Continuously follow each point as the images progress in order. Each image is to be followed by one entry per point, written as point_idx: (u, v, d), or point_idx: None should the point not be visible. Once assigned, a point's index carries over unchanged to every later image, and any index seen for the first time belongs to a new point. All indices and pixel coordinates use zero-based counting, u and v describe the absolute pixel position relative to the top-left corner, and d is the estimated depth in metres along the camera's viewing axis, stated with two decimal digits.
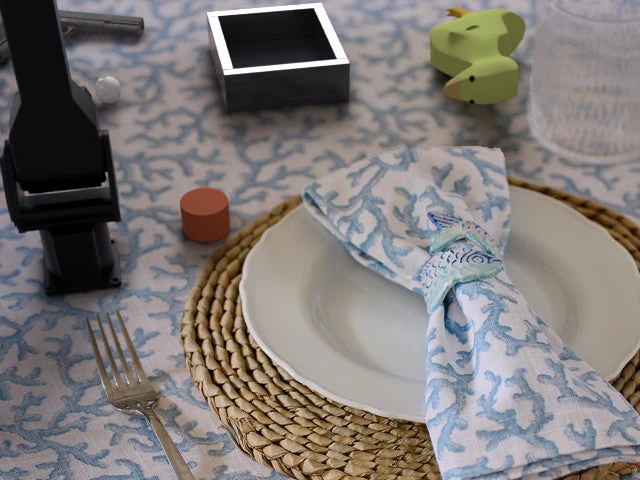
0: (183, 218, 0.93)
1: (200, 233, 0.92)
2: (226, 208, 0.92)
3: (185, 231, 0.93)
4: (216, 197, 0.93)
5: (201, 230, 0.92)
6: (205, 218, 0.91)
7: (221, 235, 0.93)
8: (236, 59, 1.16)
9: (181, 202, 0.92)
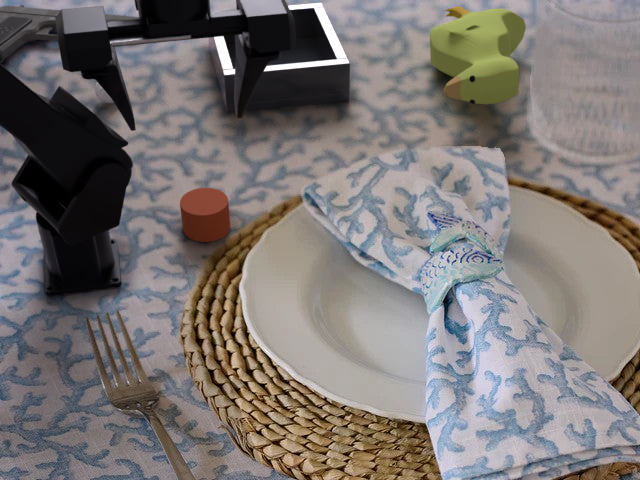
0: (183, 218, 0.93)
1: (200, 233, 0.92)
2: (226, 208, 0.92)
3: (185, 231, 0.93)
4: (216, 197, 0.93)
5: (201, 230, 0.92)
6: (205, 218, 0.91)
7: (221, 235, 0.93)
8: None
9: (181, 202, 0.92)
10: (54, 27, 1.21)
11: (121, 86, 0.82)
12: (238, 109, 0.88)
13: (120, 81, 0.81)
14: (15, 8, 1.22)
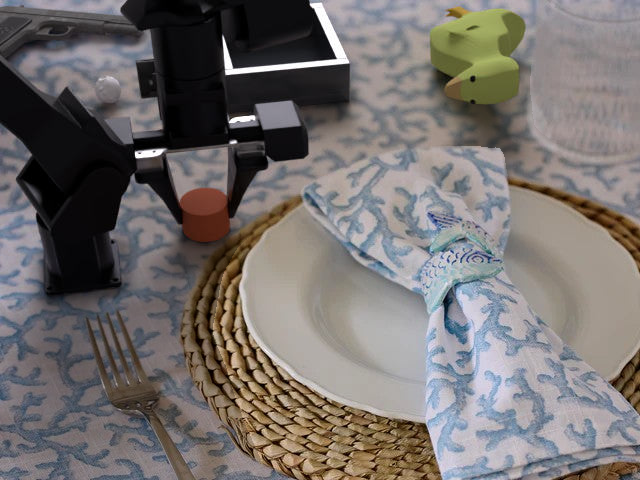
0: (183, 218, 0.93)
1: (200, 233, 0.92)
2: (226, 208, 0.92)
3: (185, 231, 0.93)
4: (215, 197, 0.93)
5: (201, 230, 0.92)
6: (205, 218, 0.91)
7: (221, 235, 0.93)
8: (236, 59, 1.16)
9: (181, 202, 0.92)
10: (54, 27, 1.21)
11: (171, 189, 0.88)
12: (230, 211, 0.93)
13: (170, 185, 0.88)
14: (15, 8, 1.22)
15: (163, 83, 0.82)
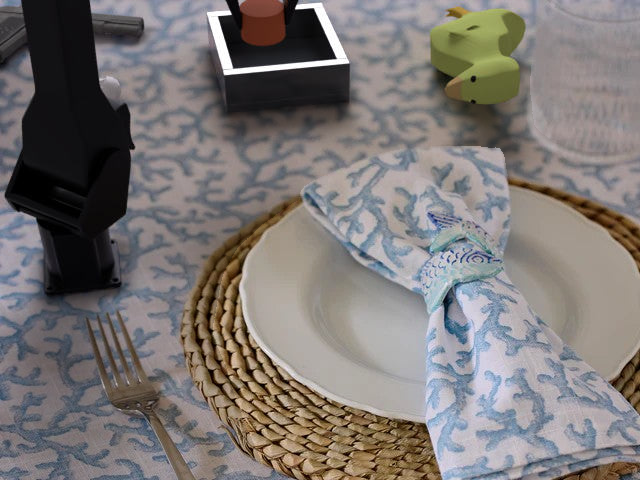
0: (242, 23, 0.99)
1: (258, 36, 0.99)
2: (282, 13, 0.99)
3: (244, 36, 1.00)
4: (272, 4, 1.00)
5: (259, 33, 0.99)
6: (263, 20, 0.98)
7: (277, 40, 1.00)
8: (236, 59, 1.16)
9: (240, 7, 0.99)
10: None
11: None
12: (286, 16, 1.00)
13: None
14: (15, 8, 1.22)
15: None
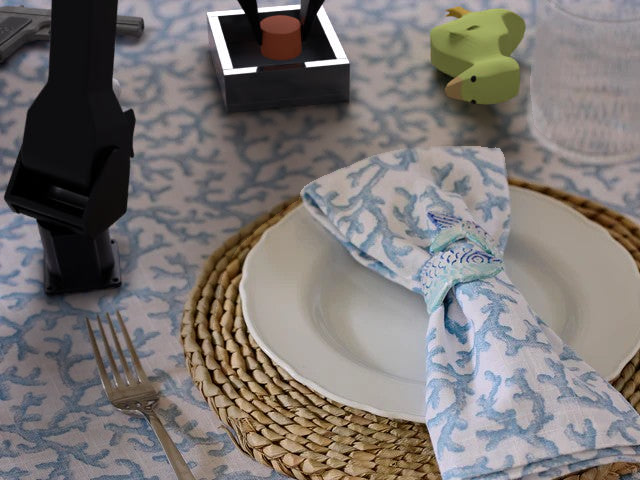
0: (262, 39, 1.08)
1: (277, 51, 1.08)
2: (299, 30, 1.08)
3: (263, 51, 1.09)
4: (290, 21, 1.08)
5: (278, 49, 1.07)
6: (282, 37, 1.06)
7: (294, 55, 1.09)
8: (236, 59, 1.16)
9: (261, 25, 1.08)
10: None
11: (256, 6, 1.03)
12: (302, 33, 1.08)
13: (255, 2, 1.03)
14: (15, 8, 1.22)
15: None
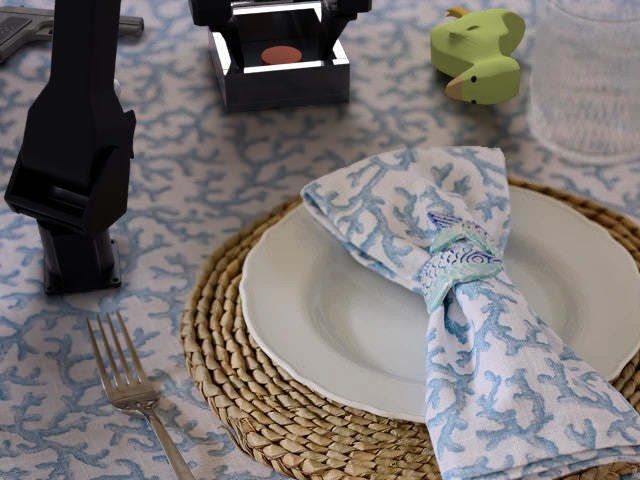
0: None
1: None
2: (300, 61, 1.10)
3: None
4: (291, 52, 1.11)
5: None
6: None
7: None
8: None
9: (262, 56, 1.10)
10: None
11: (238, 39, 1.05)
12: (321, 60, 1.11)
13: (238, 34, 1.05)
14: (15, 8, 1.22)
15: None
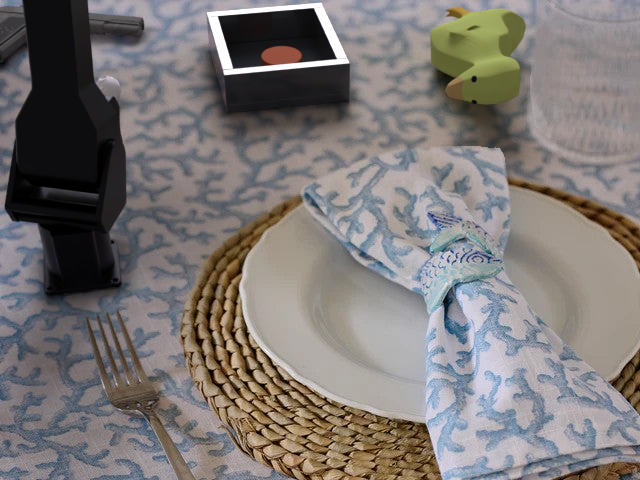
0: None
1: None
2: (300, 61, 1.10)
3: None
4: (291, 52, 1.11)
5: None
6: None
7: None
8: (236, 59, 1.16)
9: (262, 56, 1.10)
10: None
11: None
12: None
13: None
14: (15, 8, 1.22)
15: None
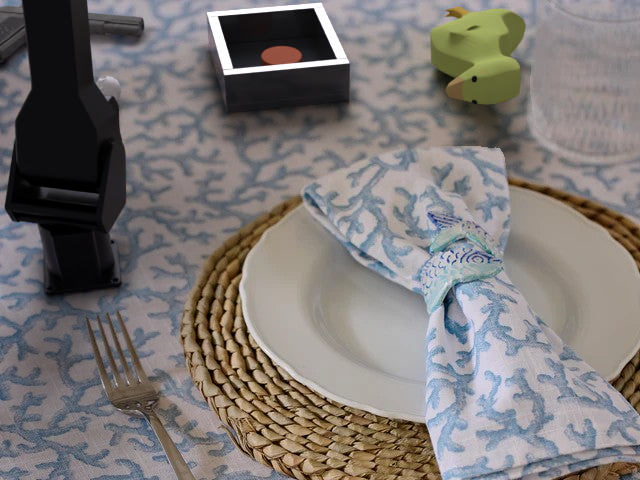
0: None
1: None
2: (300, 61, 1.10)
3: None
4: (291, 52, 1.11)
5: None
6: None
7: None
8: (236, 59, 1.16)
9: (262, 56, 1.10)
10: None
11: None
12: None
13: None
14: (15, 8, 1.22)
15: None
